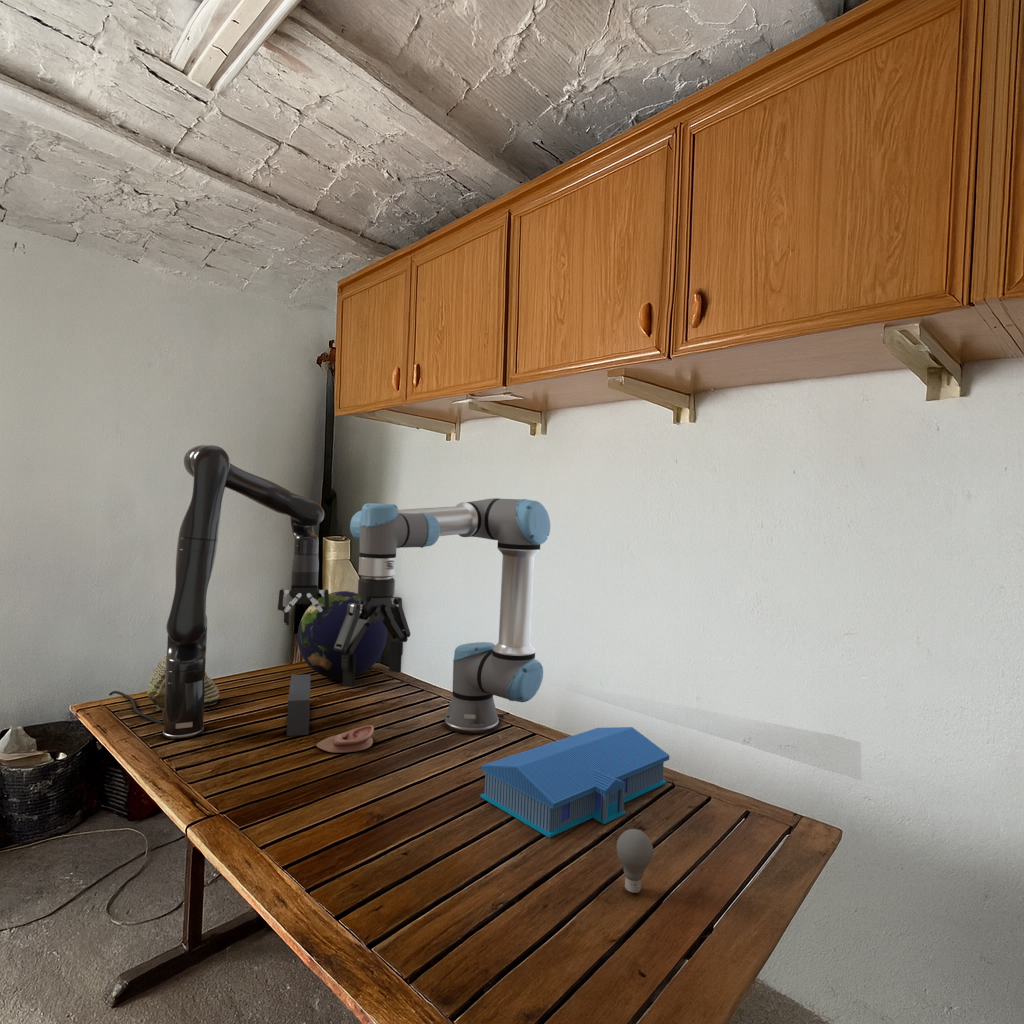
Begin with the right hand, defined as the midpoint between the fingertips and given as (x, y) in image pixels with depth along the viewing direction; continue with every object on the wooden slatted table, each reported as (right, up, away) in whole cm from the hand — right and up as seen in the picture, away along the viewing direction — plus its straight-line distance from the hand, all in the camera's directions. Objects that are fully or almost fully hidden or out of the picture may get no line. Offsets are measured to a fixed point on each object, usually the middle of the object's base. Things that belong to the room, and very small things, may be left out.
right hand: (372, 678), depth 133 cm
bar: (-31, -24, +46) cm, 60 cm away
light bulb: (+49, -29, -27) cm, 63 cm away
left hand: (-32, +2, +53) cm, 62 cm away
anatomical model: (-13, -25, +29) cm, 40 cm away
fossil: (-67, -22, +52) cm, 88 cm away
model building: (+45, -28, +8) cm, 53 cm away
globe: (-30, -23, +87) cm, 95 cm away
